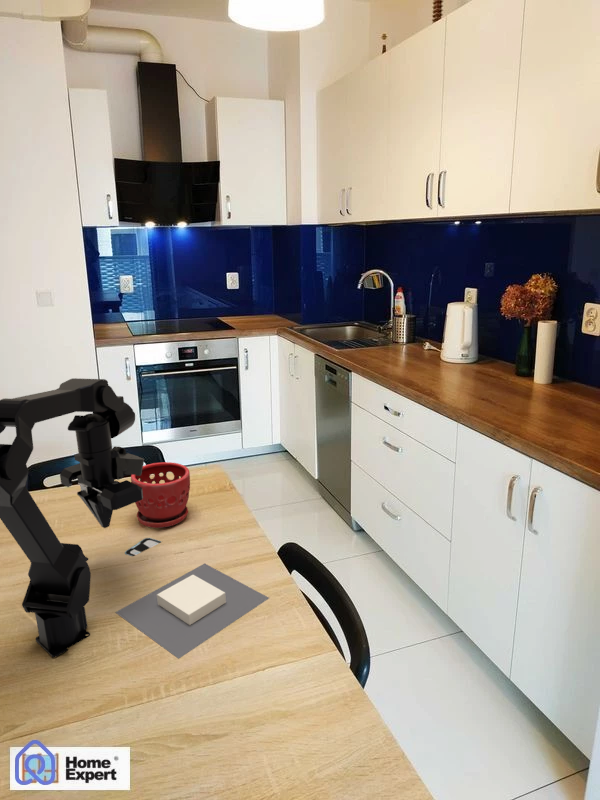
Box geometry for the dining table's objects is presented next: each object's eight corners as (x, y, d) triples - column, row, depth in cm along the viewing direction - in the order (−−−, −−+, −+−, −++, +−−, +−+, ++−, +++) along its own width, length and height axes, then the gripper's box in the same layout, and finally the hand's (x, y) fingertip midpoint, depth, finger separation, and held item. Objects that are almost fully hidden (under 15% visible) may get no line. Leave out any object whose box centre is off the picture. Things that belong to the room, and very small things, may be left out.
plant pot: (135, 536, 127) (129, 486, 124) (136, 510, 140) (131, 464, 136) (195, 528, 130) (190, 479, 127) (191, 503, 143) (187, 458, 139)
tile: (158, 605, 102) (189, 626, 96) (156, 594, 102) (188, 614, 96) (193, 584, 108) (226, 603, 102) (192, 574, 107) (225, 592, 102)
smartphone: (179, 572, 113) (122, 553, 120) (179, 576, 113) (122, 557, 120) (202, 554, 119) (147, 536, 126) (202, 558, 119) (147, 540, 126)
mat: (178, 661, 89) (178, 658, 89) (115, 615, 101) (115, 612, 101) (269, 600, 104) (269, 597, 103) (204, 566, 115) (204, 563, 115)
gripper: (164, 446, 102) (172, 525, 107) (107, 426, 114) (116, 498, 119) (107, 465, 94) (118, 550, 99) (53, 441, 106) (65, 518, 111)
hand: (105, 526), depth 107 cm, fingers closed
